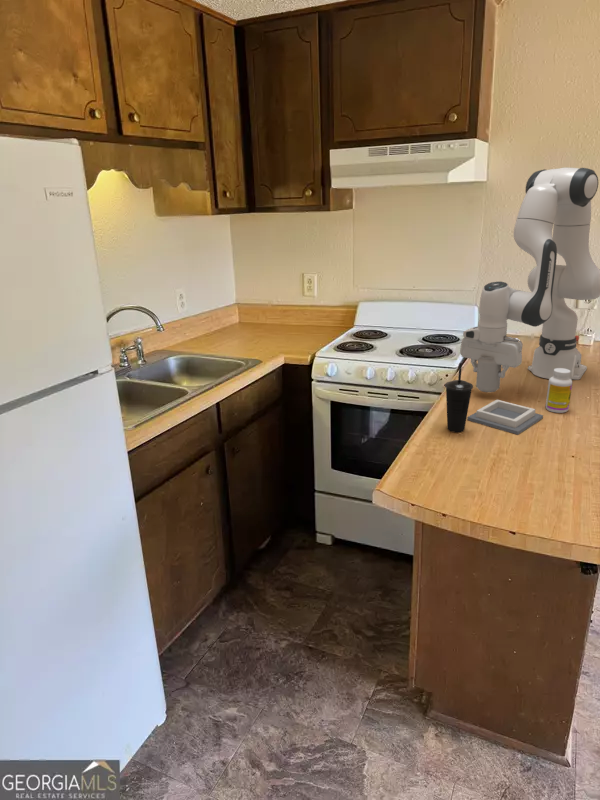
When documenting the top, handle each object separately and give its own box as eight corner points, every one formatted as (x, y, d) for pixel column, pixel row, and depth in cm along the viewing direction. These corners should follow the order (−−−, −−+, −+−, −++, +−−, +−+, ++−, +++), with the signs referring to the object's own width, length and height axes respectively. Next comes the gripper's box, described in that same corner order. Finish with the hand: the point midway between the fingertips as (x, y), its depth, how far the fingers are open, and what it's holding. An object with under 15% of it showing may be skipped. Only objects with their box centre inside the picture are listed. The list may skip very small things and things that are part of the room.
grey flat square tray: (493, 405, 182) (494, 396, 181) (542, 418, 172) (544, 409, 170) (467, 420, 172) (467, 410, 171) (517, 434, 161) (519, 425, 160)
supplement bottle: (570, 414, 174) (576, 374, 169) (547, 413, 175) (552, 373, 171) (565, 406, 180) (571, 367, 175) (543, 405, 181) (548, 366, 177)
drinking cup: (470, 425, 168) (475, 360, 161) (468, 435, 162) (474, 368, 155) (443, 422, 171) (447, 358, 164) (441, 432, 164) (445, 366, 157)
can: (500, 393, 186) (503, 358, 181) (476, 392, 187) (479, 358, 183) (498, 385, 193) (501, 351, 188) (475, 384, 194) (477, 351, 190)
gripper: (527, 336, 178) (523, 378, 183) (469, 327, 192) (466, 366, 197) (518, 341, 174) (514, 383, 179) (458, 331, 188) (456, 370, 193)
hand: (488, 374), depth 188 cm, fingers closed on can, 7 cm apart
